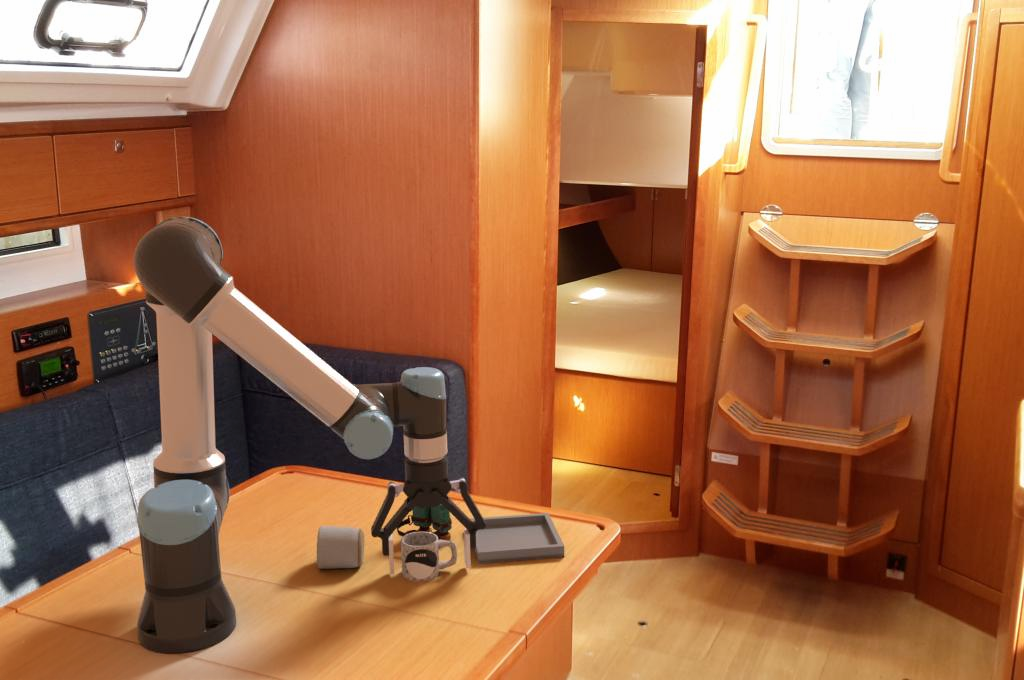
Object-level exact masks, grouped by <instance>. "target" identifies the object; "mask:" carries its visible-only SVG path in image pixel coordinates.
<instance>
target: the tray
mask: <svg viewBox="0 0 1024 680" xmlns="http://www.w3.org/2000/svg"><path fill="white" fill-rule="evenodd" d="M469 519H470V520H471V521H472V522H474V521H476V520H475V519H474V517H472V518H469ZM483 519H484V521H485V524H486V527H485V528H484V529H479V530H477V532H476V548H475V549H474V553H475V556H476V559H477V564H479V565H480V564H489V563H490V564H491V563H502V562H503V563H506V562H516V561H517V562H518V561H531V560H543V559H545V560H546V559H555V558H556V559H557V558H565V545H564V542H563V540H562V537H561V536H560V534H559V532H558V530H557V527H556V526H555V524H554V521H553V519H552V517H551V515H550V513H549V512H544V513H531V514H530V513H528V514H517V515H516V514H514V515H501V516H488V517H483Z"/></svg>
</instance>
